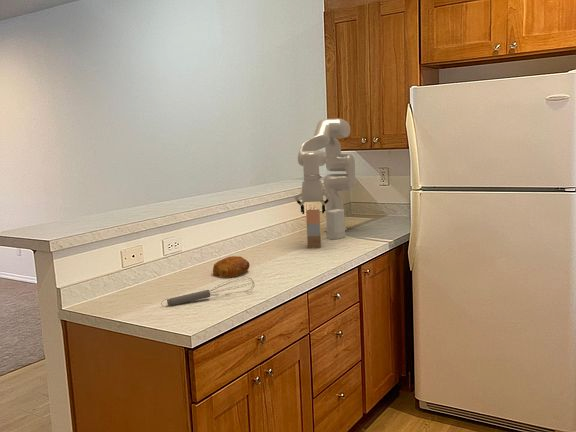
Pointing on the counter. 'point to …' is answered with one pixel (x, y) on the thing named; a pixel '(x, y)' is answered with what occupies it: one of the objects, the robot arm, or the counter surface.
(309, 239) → the walnut block
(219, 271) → the brown bread loaf
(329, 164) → the robot arm
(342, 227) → the skincare box
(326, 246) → the counter surface
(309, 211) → the terracotta block
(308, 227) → the slate block
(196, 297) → the kitchen whisk
